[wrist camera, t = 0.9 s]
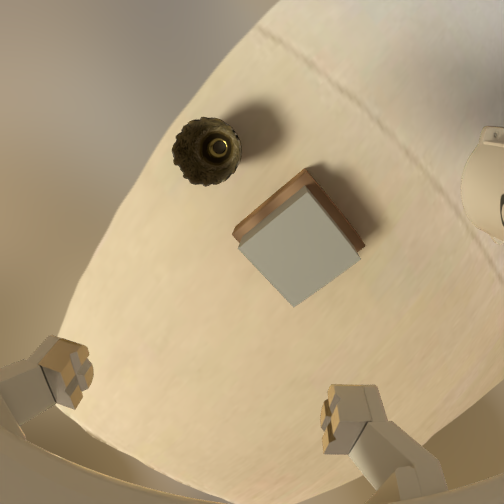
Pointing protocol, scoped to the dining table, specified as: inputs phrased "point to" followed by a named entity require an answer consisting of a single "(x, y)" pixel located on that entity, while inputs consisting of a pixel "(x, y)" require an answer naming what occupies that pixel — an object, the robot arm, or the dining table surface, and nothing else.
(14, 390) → the robot arm
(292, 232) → the tower top
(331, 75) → the dining table surface
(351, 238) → the tower base
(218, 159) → the cup
